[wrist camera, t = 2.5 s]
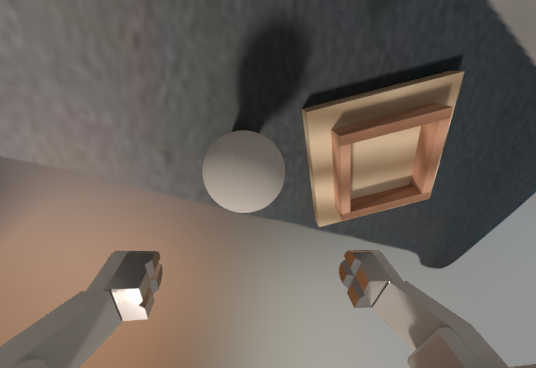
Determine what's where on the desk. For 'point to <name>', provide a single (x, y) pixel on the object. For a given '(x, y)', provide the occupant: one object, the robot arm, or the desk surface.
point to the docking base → (378, 146)
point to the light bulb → (243, 171)
